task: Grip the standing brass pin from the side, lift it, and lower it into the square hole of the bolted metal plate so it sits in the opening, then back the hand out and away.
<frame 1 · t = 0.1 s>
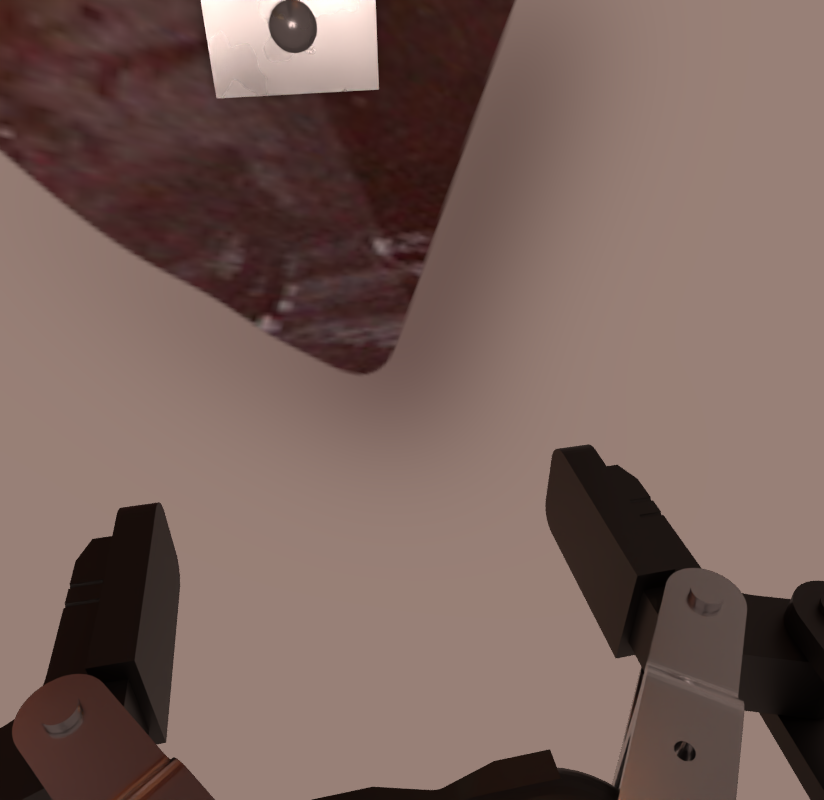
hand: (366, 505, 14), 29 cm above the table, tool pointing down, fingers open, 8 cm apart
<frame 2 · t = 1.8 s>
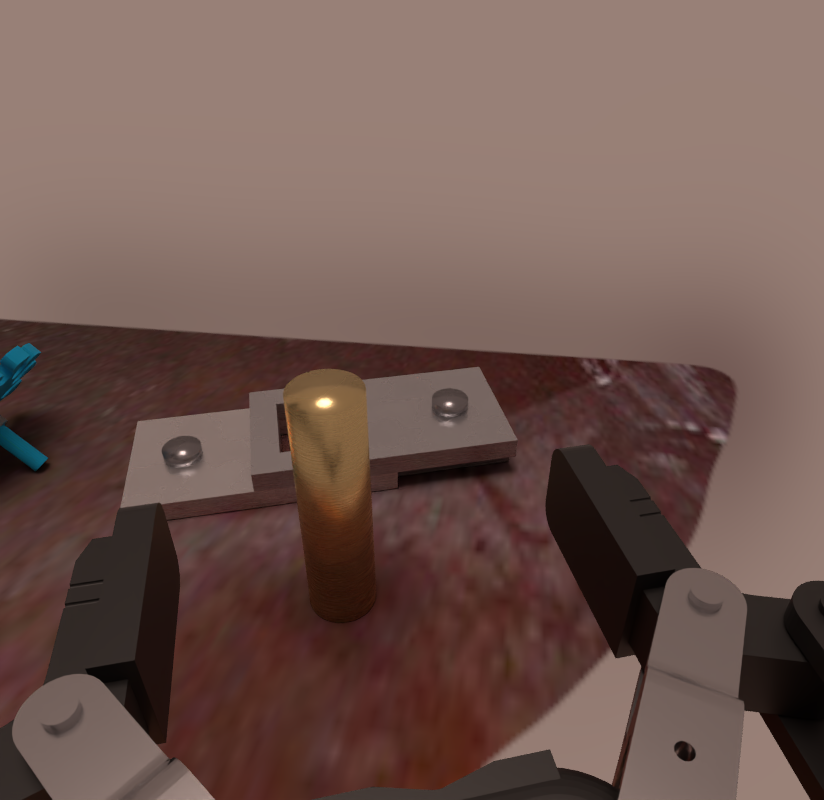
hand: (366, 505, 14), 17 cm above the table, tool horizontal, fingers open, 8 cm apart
bolted metal plate: (321, 453, 43), on the table
brass pin: (343, 595, 34), on the table
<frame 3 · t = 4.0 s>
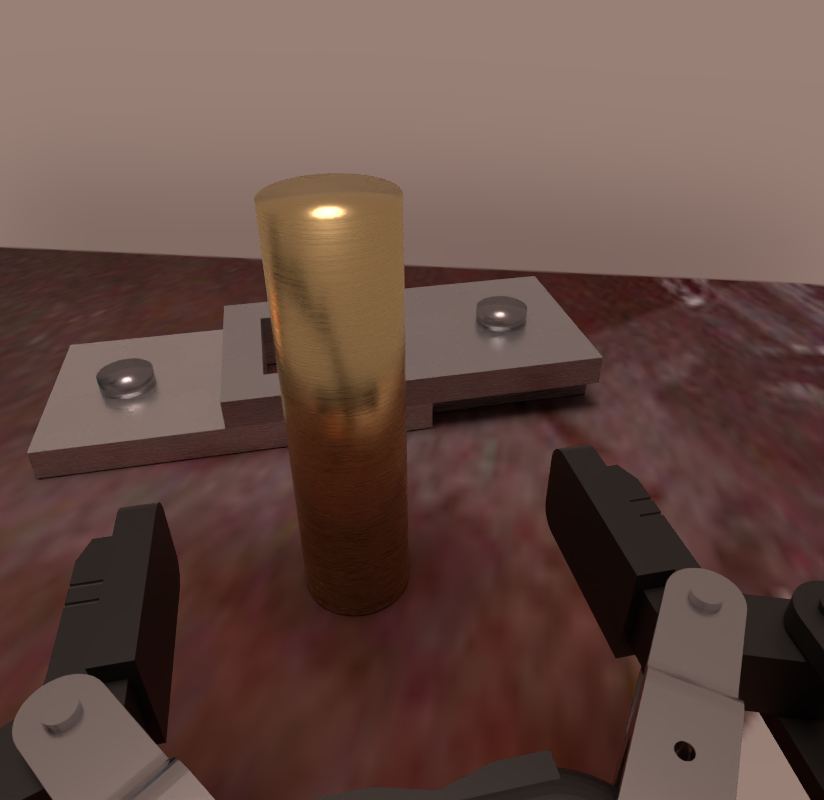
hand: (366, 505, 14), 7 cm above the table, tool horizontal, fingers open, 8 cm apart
bolted metal plate: (323, 386, 31), on the table
brass pin: (357, 573, 22), on the table
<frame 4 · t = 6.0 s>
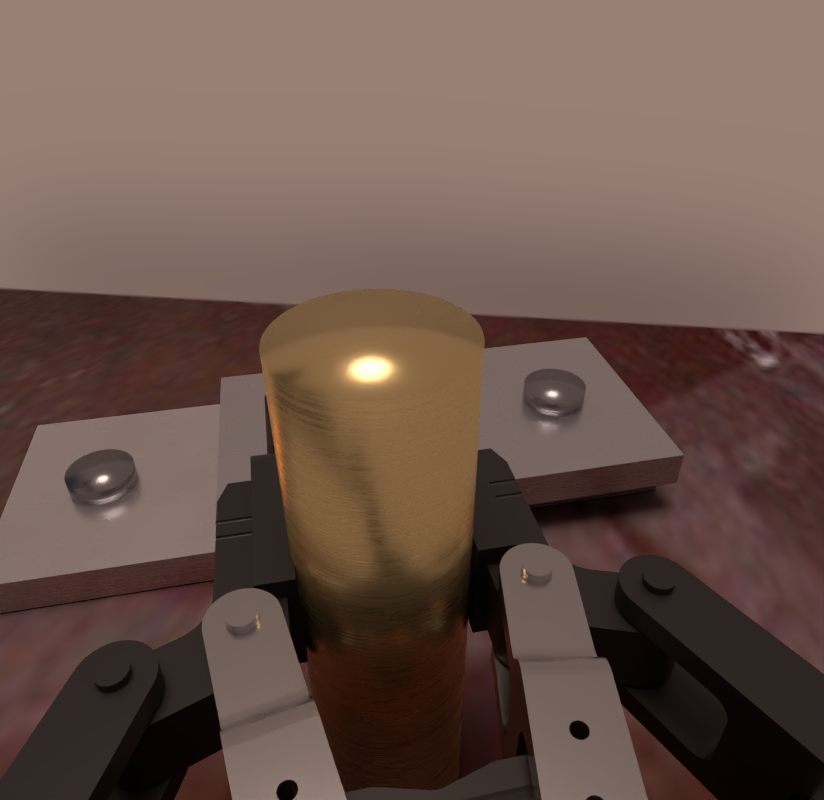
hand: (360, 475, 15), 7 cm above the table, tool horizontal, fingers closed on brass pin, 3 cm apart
bolted metal plate: (340, 477, 26), on the table
brass pin: (392, 772, 17), on the table, touching gripper
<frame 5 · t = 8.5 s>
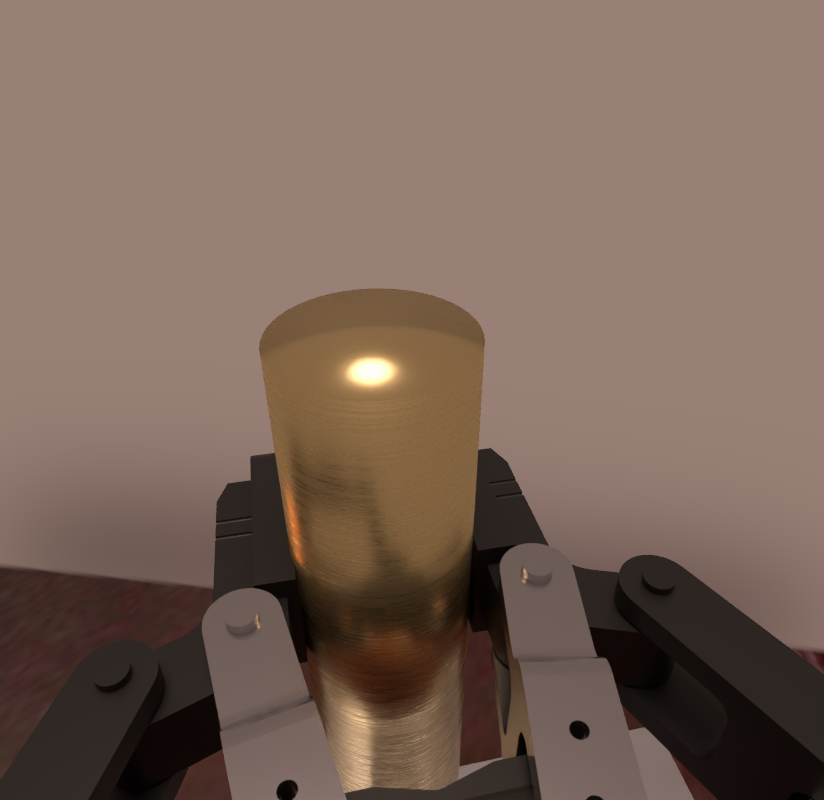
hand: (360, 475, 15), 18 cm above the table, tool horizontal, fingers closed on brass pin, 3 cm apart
brass pin: (392, 772, 17), point 11 cm above the table, touching gripper
when the fingers open (8 cm above the table, at t = 11.0 s): brass pin drops 1 cm, resting in bolted metal plate.
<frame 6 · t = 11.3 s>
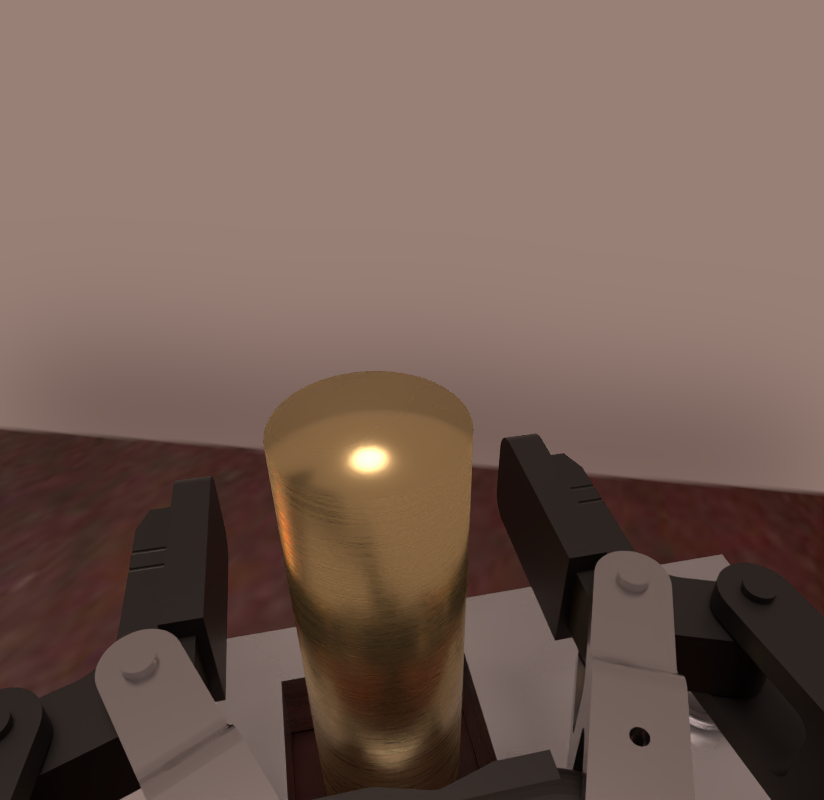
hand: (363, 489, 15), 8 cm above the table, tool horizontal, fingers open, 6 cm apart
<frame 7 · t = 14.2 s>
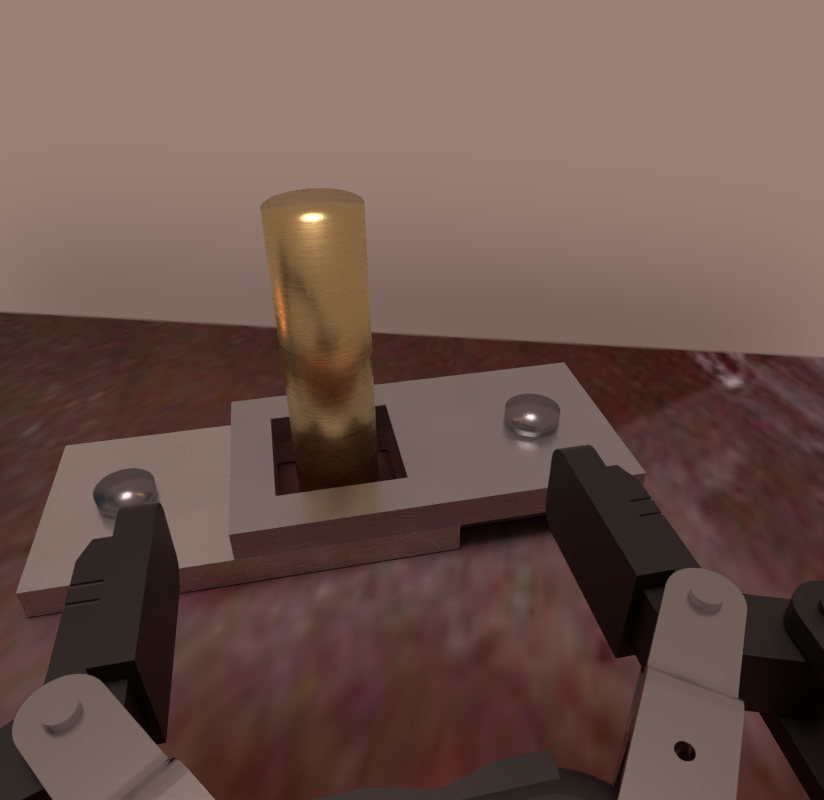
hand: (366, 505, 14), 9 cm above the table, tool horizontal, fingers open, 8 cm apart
bolted metal plate: (339, 492, 28), on the table
brass pin: (340, 494, 28), resting in bolted metal plate
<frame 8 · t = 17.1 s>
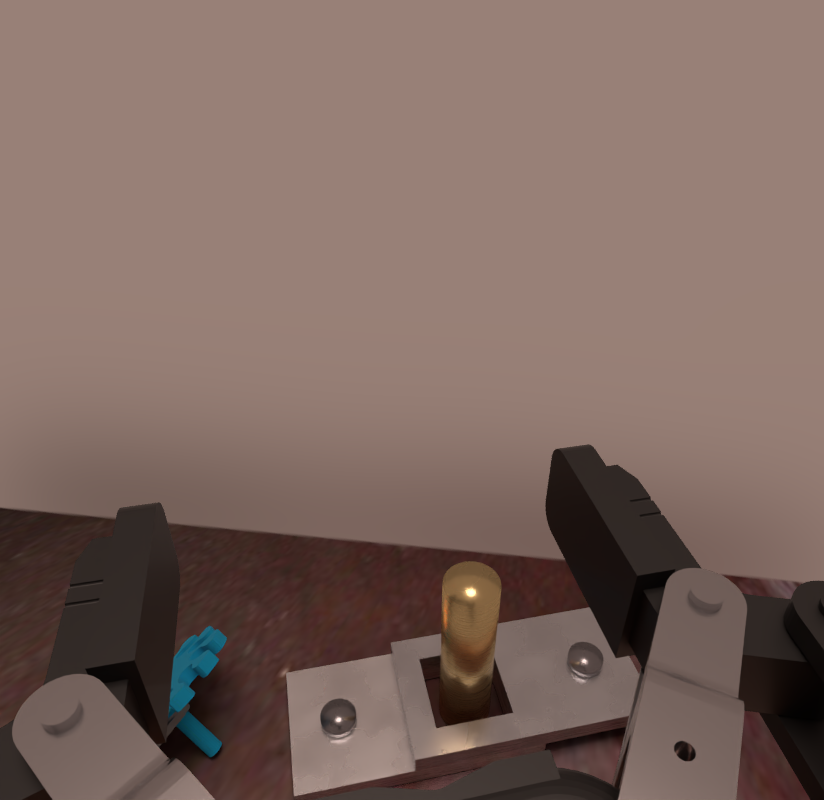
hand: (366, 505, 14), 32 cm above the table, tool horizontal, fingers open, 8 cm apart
bolted metal plate: (463, 706, 45), on the table
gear: (166, 740, 44), on the table
brass pin: (464, 708, 45), resting in bolted metal plate
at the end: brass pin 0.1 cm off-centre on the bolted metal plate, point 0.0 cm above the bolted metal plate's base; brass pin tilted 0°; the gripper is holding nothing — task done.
